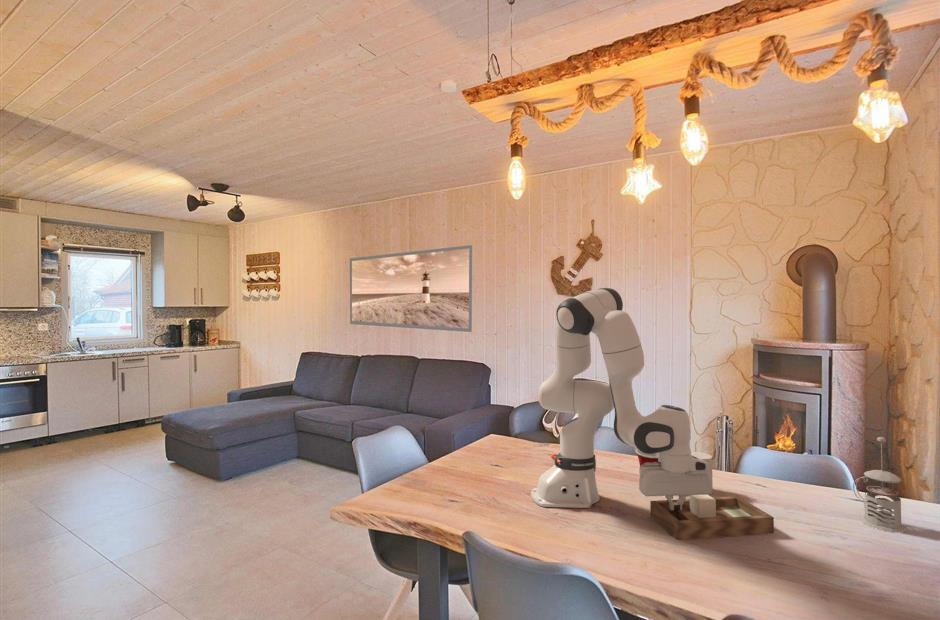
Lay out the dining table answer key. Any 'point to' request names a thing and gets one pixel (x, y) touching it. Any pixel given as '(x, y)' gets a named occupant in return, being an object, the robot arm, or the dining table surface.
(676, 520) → the box
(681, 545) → the dining table surface
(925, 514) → the dining table surface
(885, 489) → the french press
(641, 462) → the plastic cup
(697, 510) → the block
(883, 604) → the dining table surface
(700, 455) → the beige cylinder
